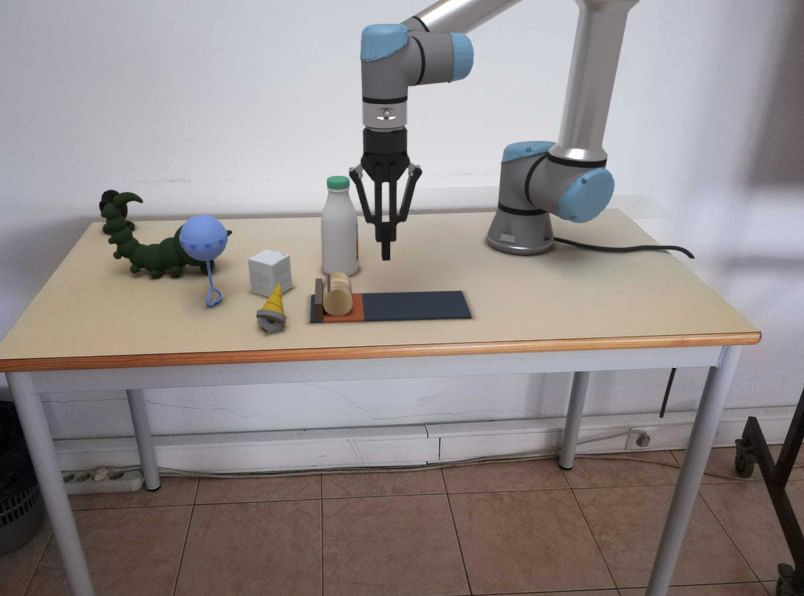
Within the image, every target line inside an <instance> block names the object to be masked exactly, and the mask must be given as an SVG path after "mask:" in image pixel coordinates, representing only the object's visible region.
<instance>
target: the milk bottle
mask: <svg viewBox="0 0 804 596" xmlns="http://www.w3.org/2000/svg"><path fill="white" fill-rule="evenodd" d="M350 186H351V179H350V177H348V176H345V175H331V176H329V177H327V179H326V190H327V192H328V193H327V197H326V200H325V204H324V206H323V208H322V211H321V215H320V217H321V218H320V240H321V241H320V243H321V265H322V271H323V272H324V273H325V274H326V276H327V275H329V274H330V273H333V272H341V273H344V274H345V275H347V276H348V277H350V276H352V275H354V274H356V273H357V272H358V270H359V264H360V263H359V221H358V215H357V214H358V213H357V210H356V208H355V206H354V204H353V202H352V199H351V197H350Z"/></svg>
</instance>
